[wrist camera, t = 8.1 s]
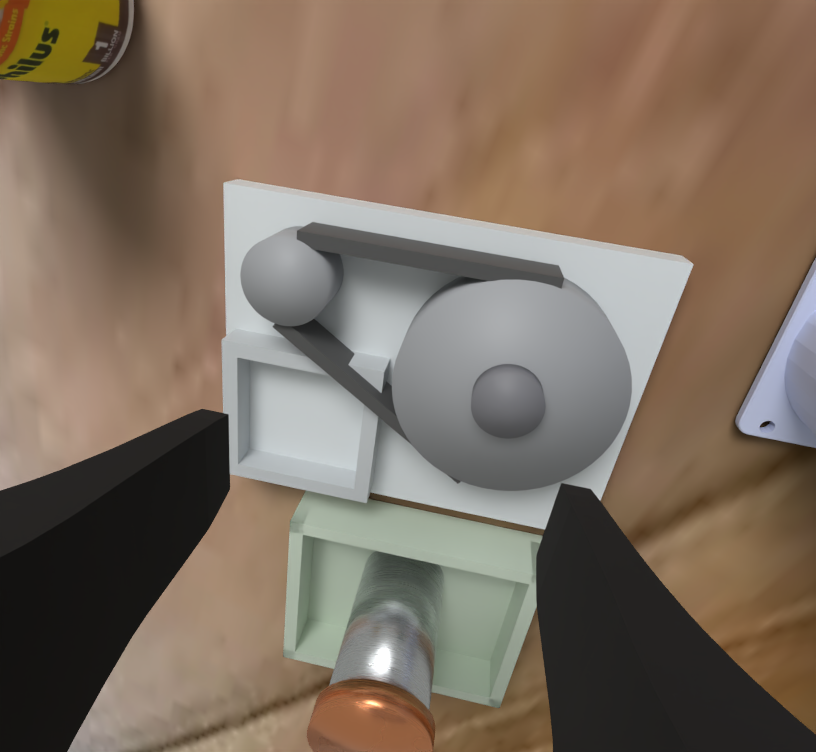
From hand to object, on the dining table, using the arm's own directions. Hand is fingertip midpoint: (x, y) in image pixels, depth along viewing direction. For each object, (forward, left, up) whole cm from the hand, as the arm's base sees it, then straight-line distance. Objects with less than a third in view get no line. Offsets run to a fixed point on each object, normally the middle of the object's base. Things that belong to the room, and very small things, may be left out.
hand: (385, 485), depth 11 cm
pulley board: (0, +2, -10) cm, 11 cm away
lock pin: (-1, +13, -10) cm, 17 cm away
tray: (-1, +14, -10) cm, 17 cm away
